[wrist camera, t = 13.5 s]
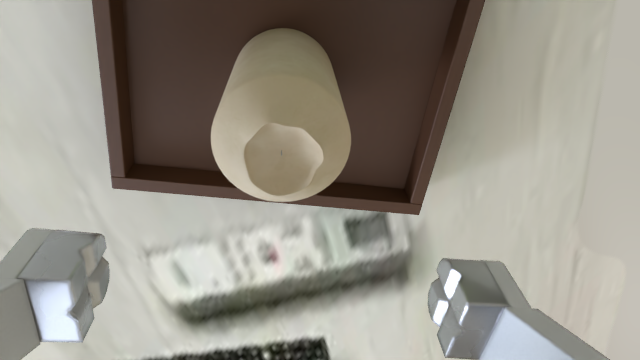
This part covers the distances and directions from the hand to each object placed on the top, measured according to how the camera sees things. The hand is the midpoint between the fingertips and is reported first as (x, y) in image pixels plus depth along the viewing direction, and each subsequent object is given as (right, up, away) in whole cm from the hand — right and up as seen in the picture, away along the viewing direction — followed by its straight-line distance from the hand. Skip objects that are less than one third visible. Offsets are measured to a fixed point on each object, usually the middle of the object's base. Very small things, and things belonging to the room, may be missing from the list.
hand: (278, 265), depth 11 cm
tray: (-1, +8, +15) cm, 17 cm away
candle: (-1, +8, +14) cm, 16 cm away
